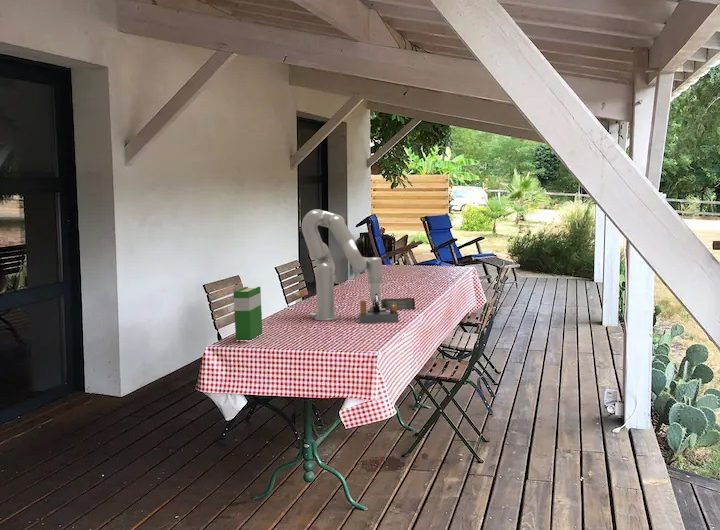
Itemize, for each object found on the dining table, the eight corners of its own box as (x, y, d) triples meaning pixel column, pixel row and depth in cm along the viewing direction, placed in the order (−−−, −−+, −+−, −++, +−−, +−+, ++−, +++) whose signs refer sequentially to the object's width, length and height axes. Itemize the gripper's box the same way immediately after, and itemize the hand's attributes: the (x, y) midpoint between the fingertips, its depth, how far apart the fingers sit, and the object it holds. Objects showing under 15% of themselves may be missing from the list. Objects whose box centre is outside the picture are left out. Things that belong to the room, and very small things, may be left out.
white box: (367, 315, 385) (367, 307, 384) (366, 314, 390) (366, 306, 389) (386, 315, 386) (385, 306, 385) (384, 313, 391) (384, 305, 390)
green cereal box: (248, 334, 354) (245, 286, 352) (262, 334, 353) (260, 286, 350) (236, 342, 337) (233, 291, 334) (251, 342, 335) (248, 291, 333)
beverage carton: (382, 308, 422) (382, 297, 421) (415, 308, 419) (415, 297, 418) (380, 310, 414) (380, 299, 414) (414, 310, 411) (413, 299, 410)
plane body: (360, 323, 373) (359, 302, 372) (359, 321, 380) (358, 300, 379) (398, 322, 375) (397, 300, 373) (396, 319, 381) (396, 298, 380)
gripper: (366, 278, 394) (367, 311, 396) (369, 282, 377) (370, 316, 379) (380, 278, 395) (381, 310, 397) (384, 281, 378) (385, 315, 380)
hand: (376, 313), depth 388 cm, fingers closed on white box, 5 cm apart
